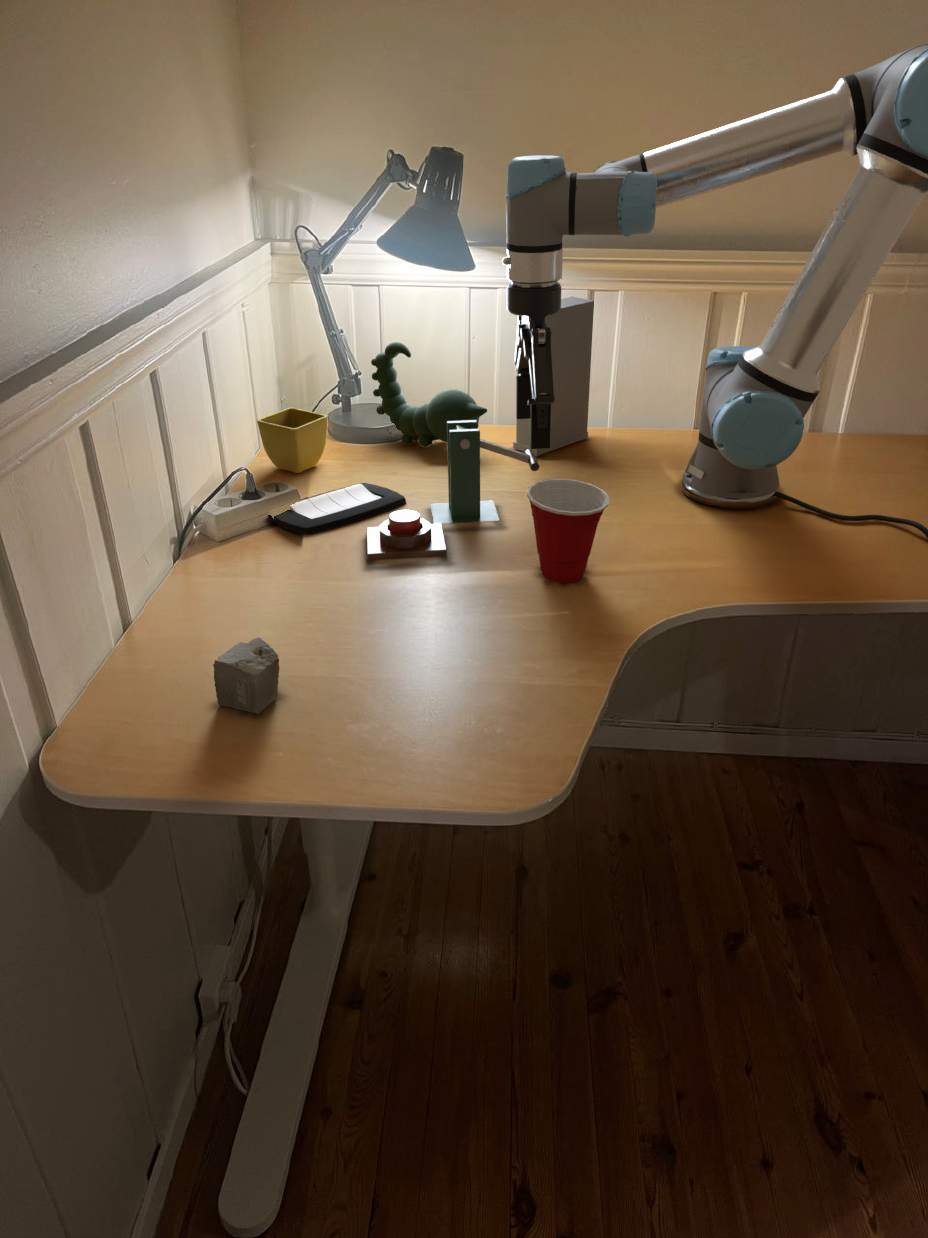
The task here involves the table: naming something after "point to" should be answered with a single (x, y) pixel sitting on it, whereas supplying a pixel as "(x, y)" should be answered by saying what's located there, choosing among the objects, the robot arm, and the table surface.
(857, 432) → the table surface
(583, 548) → the plastic cup
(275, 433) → the flower pot
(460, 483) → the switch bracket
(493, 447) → the switch lever
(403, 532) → the button
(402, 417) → the toy figurine
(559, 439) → the tall grey upright slab
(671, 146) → the robot arm
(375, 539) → the button block
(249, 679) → the mineral specimen
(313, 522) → the light switch
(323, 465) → the table surface
